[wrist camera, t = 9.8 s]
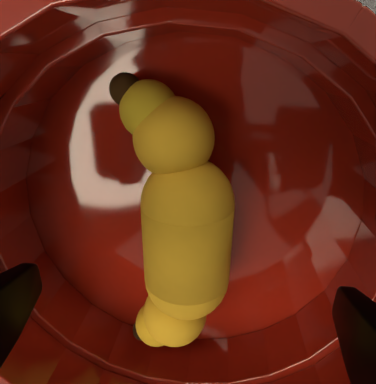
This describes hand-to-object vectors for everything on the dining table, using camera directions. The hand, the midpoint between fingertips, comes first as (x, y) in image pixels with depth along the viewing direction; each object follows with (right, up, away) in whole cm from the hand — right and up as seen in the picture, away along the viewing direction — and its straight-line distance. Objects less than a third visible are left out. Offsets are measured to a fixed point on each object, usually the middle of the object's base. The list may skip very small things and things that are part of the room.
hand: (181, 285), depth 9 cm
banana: (+1, +2, +4) cm, 4 cm away
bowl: (0, +2, +5) cm, 5 cm away
